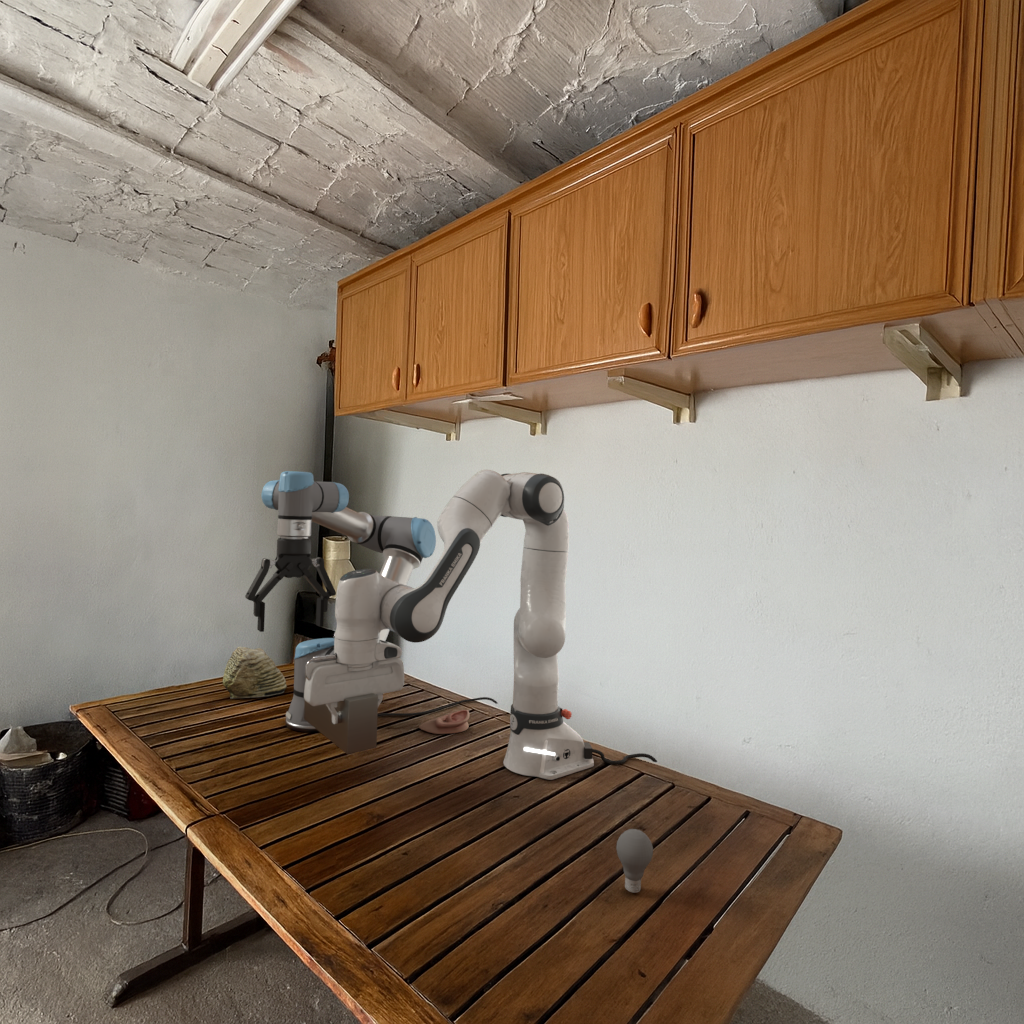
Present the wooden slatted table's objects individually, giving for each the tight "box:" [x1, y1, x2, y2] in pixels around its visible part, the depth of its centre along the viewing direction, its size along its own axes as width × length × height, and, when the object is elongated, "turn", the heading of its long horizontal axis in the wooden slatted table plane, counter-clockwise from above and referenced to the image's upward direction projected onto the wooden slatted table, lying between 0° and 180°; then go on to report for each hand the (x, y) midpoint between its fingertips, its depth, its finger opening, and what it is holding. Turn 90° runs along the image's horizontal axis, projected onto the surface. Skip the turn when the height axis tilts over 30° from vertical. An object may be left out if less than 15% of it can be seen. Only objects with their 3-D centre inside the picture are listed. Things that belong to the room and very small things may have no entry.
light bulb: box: [615, 828, 654, 894], centre depth 106 cm, size 6×6×10 cm
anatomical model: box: [418, 709, 471, 735], centre depth 177 cm, size 13×4×12 cm
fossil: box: [222, 646, 288, 699], centre depth 198 cm, size 9×18×15 cm, turn 132°
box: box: [304, 676, 379, 755], centre depth 133 cm, size 23×6×10 cm, turn 38°
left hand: (290, 628), depth 148 cm, fingers open, 13 cm apart
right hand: (354, 719), depth 127 cm, fingers closed on box, 6 cm apart
